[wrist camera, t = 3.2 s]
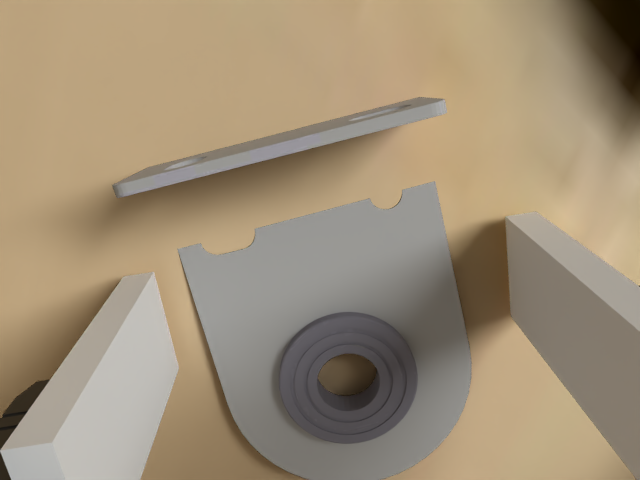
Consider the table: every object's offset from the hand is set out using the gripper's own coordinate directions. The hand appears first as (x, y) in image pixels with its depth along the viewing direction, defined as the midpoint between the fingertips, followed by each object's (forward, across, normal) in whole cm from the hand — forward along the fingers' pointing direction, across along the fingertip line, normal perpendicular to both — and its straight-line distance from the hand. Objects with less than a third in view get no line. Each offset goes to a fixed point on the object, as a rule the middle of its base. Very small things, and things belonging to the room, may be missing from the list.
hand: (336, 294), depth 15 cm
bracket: (+1, 0, 0) cm, 1 cm away
